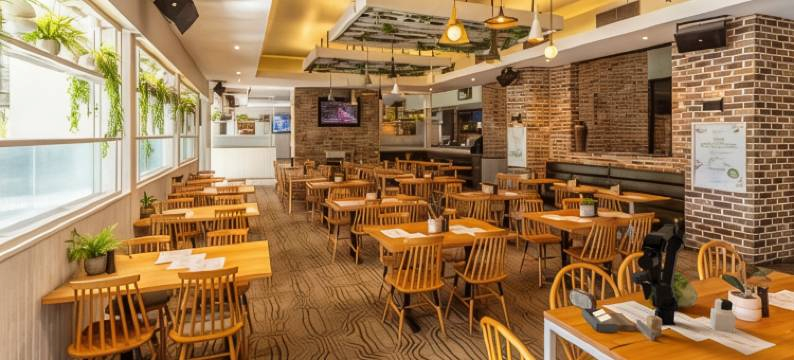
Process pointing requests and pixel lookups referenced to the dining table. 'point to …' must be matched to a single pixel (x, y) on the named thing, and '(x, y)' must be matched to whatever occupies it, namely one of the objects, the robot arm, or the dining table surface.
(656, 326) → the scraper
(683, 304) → the lettuce
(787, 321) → the dining table surface
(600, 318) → the tile
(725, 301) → the medicine bottle
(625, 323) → the board
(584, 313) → the tray
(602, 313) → the tile
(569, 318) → the dining table surface
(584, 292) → the tin
